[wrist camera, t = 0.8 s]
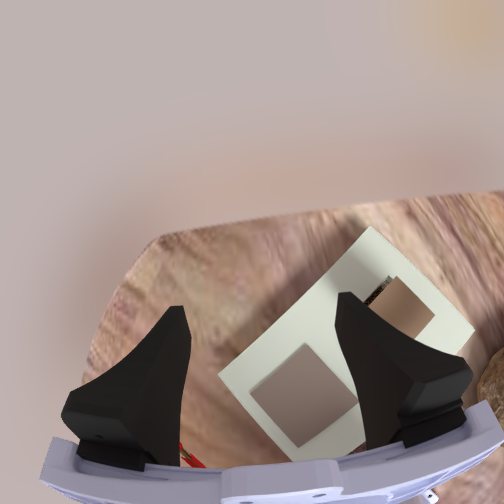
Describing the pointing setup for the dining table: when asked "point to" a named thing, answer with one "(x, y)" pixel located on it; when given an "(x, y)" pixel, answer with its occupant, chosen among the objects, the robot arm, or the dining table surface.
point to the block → (402, 308)
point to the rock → (494, 386)
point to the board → (329, 354)
